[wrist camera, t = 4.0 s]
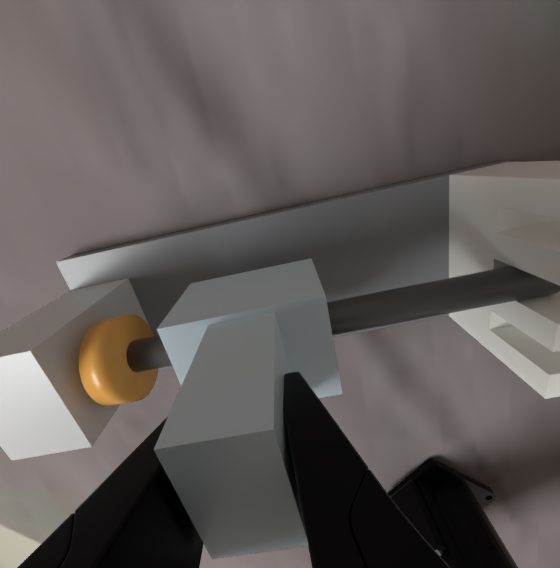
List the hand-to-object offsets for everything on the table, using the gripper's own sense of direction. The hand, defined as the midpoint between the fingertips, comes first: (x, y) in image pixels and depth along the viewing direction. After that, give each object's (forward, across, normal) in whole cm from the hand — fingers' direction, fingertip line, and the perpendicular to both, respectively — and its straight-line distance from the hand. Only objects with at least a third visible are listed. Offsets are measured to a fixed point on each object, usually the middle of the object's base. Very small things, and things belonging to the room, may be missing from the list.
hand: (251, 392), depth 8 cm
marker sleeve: (+5, 0, 0) cm, 5 cm away
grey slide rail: (+8, -1, 0) cm, 8 cm away
